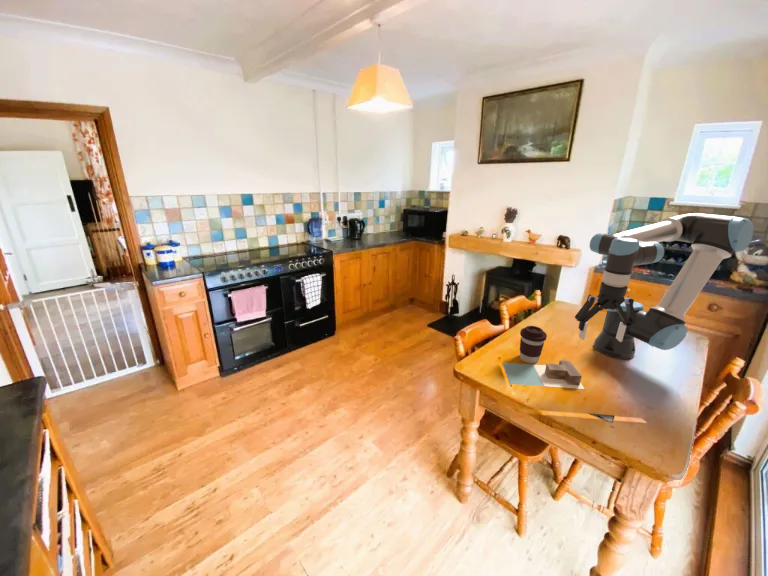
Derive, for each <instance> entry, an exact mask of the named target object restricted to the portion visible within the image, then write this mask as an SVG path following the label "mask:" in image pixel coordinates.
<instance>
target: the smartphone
mask: <svg viewBox="0 0 768 576" xmlns="http://www.w3.org/2000/svg"><path fill="white" fill-rule="evenodd" d="M588 415H589V416H593V417H595V418H597V419H600V420H603V421H605V422H607V423H611V424H612V423H614V420H615V417H616V416H615V414H614V415H611V414H600V413H588Z"/></svg>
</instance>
